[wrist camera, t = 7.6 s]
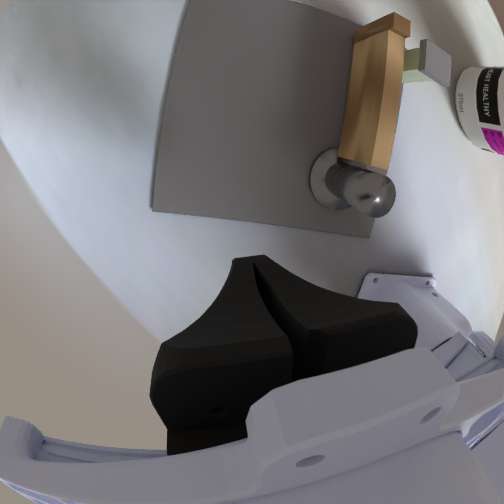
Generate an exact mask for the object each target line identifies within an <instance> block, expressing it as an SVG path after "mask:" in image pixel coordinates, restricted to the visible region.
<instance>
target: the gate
mask: <svg viewBox="0 0 504 504" xmlns="http://www.w3.org/2000/svg"><path fill="white" fill-rule="evenodd" d="M407 37H410V21H409V20H408V19H406V18H404V17H402V16H400V15H399V14H397V13H395V12H393V13H391V14H388V15H386V16H384V17H382V18H380V19H378V20H375V21H373V22H371V23H369V24H367V25H365V26H363V27H361V28H359V29H357V30H355V31H354V38H353V45H354V51H353V59H352V68H351V76H350V83H349V90H348V97H347V104H346V110H345V117H344V123H343V129H342V135H341V140H340V146H339V151H338V157H342V158H346V159H349V160H353V161H356V162H360V163H363V164H367V165H370V166H374V167H377V168H381V169H385V170H388V167H389V162H390V157H391V152H392V147H393V141H394V136H395V130H396V123H397V117H398V110H399V102H400V94H401V85H402V75H403V64H404V49H405V38H407Z"/></svg>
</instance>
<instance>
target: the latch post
mask: <svg viewBox="0 0 504 504" xmlns="http://www.w3.org/2000/svg"><path fill="white" fill-rule="evenodd" d="M451 62H452V56H450V55H449V54H448V53H446V52H445V51H444V50H442V49H441V48H439V47H438V46H437V45H435V44H434V43H432V42H431V41H429V40H428V39H424V40H420V48H415V49H411V50H407V51H404V64H403V75H402V83H410V82H421V81H436V82H437V83H439V84H440V85H442V86H443V87H445V86H450V79H451Z"/></svg>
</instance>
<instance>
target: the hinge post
mask: <svg viewBox="0 0 504 504" xmlns="http://www.w3.org/2000/svg"><path fill="white" fill-rule="evenodd" d="M338 151H339V147H332V148H329V149H326V150H324V151H323V152H321V153H320V154H319V155H318V156H317V157H316V158H315V160H314V161H313V163H312V165H311V167H310V171H309V178H308V181H309V187H310V190H311V193H312V195H313V196H314V198H315V199H316V200H317V201H318V202H319V203H320V204H322V205H323V206H325V207H326V208H329V209H332V210H345V209H348V208H350V207H352V206H353V207H355V208H356V209H358V210H360V211H361V212H363V213H364V214H366V215H368V216H370V217H372V218H379V217H382V216H384V215H385V214H387V213H388V212H389V211H390V210H391V208H392V206H393V204H394V202H395V197H396V191H395V186H394V184H393V182H392V181H391V179H390V178H388V177H387V176H385V175H382V174H379V173H376V172H373V171H370V170H367V167H366V164H363V163H360V162H356V161H353V160H349V159H346V158H342V157H338Z"/></svg>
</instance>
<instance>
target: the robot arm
mask: <svg viewBox="0 0 504 504" xmlns="http://www.w3.org/2000/svg"><path fill="white" fill-rule="evenodd" d="M375 278H376V279H375ZM374 279H375V280H374ZM373 280H374V281H373ZM435 285H436V279H435V278H433V277H419V276H405V275H392V274H379V273H369V274H367V275H366V276H365V279H364V281H363V284H362V287H361V289H360V292H359V294H358V297H357V298H355V297H350V296H346V295H342V294H339V293H336V292H332V291H329V290H326V289H324V288H321V287H319V286H316V285H314V284H312V283H309V282H307V281H305V280H303V279H302V278H300V277H298V276H296V275H294V274H293V273H291V272H289V271H288V270H286V269H285V268H283V267H282V266H280V265H279V264H277V263H276V262H274V261H273V260H271V259H270V258H269V257H267V256H266V255H257V256H249V257H241V258H234V259H233V261H232V266H231V270H230V273H229V275H228V277H227V280H226V282H225V284H224V286H223V288H222V289H221V291H220V293H219V295H218V296H217V298H216V299H215V301H214V302H213V303H212V305H211V306H210V307H209V308H208V309H207V310H206V312H205V313H204V314H203V315H202V316H201V317H200V318H199V319H197V320H196V321H195V322H194V323H193V324H191V325H190V326H189V327H187V328H186V329H185V330H183V331H182V332H180V333H179V334H177V335H175V336H174V337H172V338H170V339H169V340H167V341H165V342H163V343H162V344H161V346H160V349H159V351H158V354H157V357H156V360H155V363H154V367H153V371H152V378H151V387H150V399H151V402H152V404H153V406H154V408H155V410H156V411H157V413H158V415H159V416H160V418H161V420H162V421H163V423H164V425H165V426H166V428H167V450H146V449H126V448H114V447H104V446H96V445H88V444H82V443H76V442H70V441H64V440H60V439H55V438H50V437H46V436H43V434H42V433H41V432H40V431H39V430H38V429H37V428H36V427H35V426H34V425H33V424H31V423H30V422H28V421H25V420H21V419H18V418H14V417H11V416H5V418H4V421H3V423H2V426H1V429H0V481H2V482H3V483H4V484H6V485H7V486H9V487H10V488H12V489H13V490H15V491H17V492H18V493H20V494H21V495H23V496H25V497H26V498H28V499H29V500H31V501H33V502H35V503H37V504H504V335H503V336H502V337H501V338H500V340H499V341H498V343H497V344H496V343H495V342H494V341H493V340H492V339H491V338H490V337H489V336H488V335H487V334H485V333H484V332H483V331H477V332H475V331H472V328H471V325H470V323H469V321H468V320H467V319H466V317H465V316H463V315H462V314H461V313H460V312H459V311H458V310H457V309H456V308H455V307H454V306H453V305H452V304H451V303H449V302H448V301H447V300H446V299H445V298H444V297H443V296H442V295H440V294H439V293H438V292H437V291H436V290H435V289H434V287H435ZM473 342H474V343H475V344H476V347H477V348H478V349H479V350H480V351H481V352H482V353H483V354H484V355H483V354H482V353H481V352H480V351H479V350H478V349H477V348H476V347H475V346H474V345H473Z"/></svg>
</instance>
